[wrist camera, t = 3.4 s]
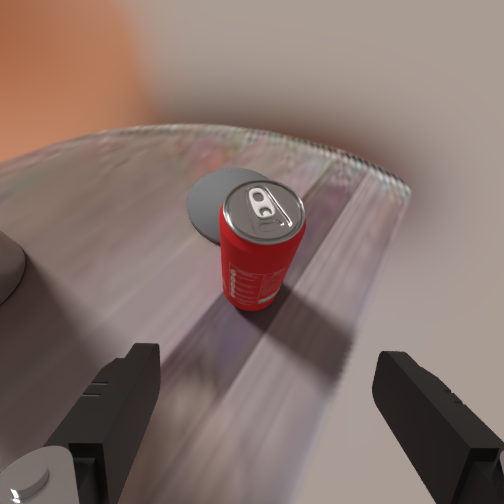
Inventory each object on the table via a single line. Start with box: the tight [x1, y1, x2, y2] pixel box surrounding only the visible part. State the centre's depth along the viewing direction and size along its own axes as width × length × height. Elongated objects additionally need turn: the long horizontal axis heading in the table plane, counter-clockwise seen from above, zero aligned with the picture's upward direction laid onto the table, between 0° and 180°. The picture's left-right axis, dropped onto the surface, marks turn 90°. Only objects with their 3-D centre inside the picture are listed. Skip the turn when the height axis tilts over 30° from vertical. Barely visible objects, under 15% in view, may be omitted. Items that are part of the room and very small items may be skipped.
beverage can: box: [219, 179, 306, 311], centre depth 20 cm, size 5×5×12 cm
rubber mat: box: [187, 168, 269, 244], centre depth 29 cm, size 11×11×1 cm
